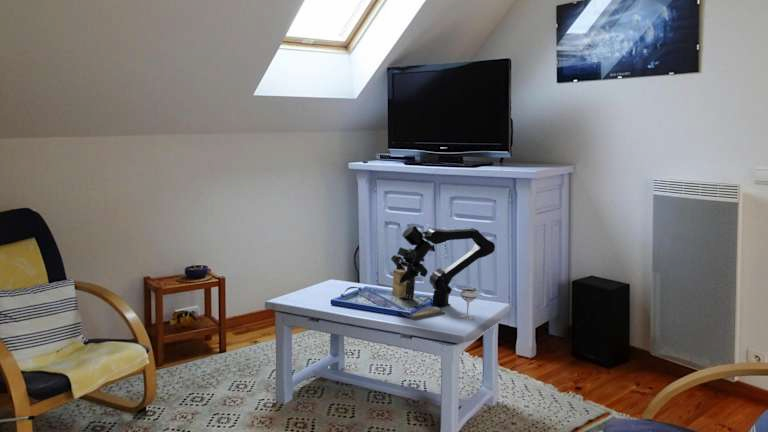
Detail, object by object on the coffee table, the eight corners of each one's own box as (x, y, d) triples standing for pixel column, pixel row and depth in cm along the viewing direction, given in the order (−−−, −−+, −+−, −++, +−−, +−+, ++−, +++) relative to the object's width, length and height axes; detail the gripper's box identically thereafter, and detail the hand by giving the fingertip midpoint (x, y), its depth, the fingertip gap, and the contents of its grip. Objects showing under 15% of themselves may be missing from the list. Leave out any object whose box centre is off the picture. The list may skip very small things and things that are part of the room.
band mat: (427, 306, 289) (427, 303, 289) (445, 313, 281) (445, 310, 280) (397, 312, 278) (397, 308, 278) (414, 320, 270) (414, 316, 270)
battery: (396, 298, 298) (398, 273, 296) (399, 296, 301) (401, 271, 299) (411, 301, 295) (413, 276, 294) (414, 299, 299) (416, 274, 297)
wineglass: (464, 313, 282) (466, 286, 280) (478, 317, 278) (480, 289, 276) (455, 316, 277) (457, 288, 275) (469, 321, 273) (472, 292, 271)
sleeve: (399, 294, 284) (401, 268, 283) (405, 296, 281) (407, 271, 279) (392, 295, 282) (393, 270, 280) (398, 297, 279) (399, 272, 277)
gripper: (395, 236, 287) (373, 264, 282) (424, 245, 273) (401, 274, 268) (408, 252, 293) (387, 280, 289) (437, 262, 279) (415, 291, 274)
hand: (397, 281), depth 280 cm, fingers closed on sleeve, 4 cm apart
